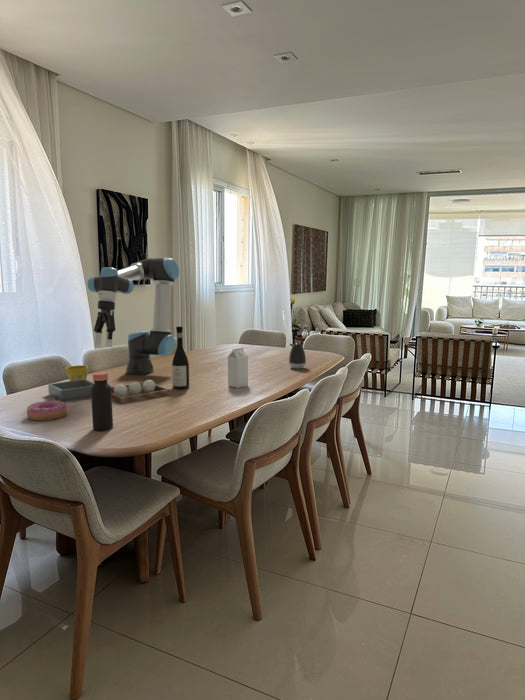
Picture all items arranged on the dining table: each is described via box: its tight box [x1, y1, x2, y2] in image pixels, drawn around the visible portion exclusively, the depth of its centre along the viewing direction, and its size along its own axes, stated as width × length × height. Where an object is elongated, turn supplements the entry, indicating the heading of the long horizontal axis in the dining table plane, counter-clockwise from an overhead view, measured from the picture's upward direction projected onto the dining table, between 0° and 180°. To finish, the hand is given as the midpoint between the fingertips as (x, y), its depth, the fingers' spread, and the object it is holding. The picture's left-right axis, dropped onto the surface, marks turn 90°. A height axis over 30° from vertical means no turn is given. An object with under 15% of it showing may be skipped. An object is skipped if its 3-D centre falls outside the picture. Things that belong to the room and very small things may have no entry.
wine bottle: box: [171, 326, 190, 390], centre depth 230 cm, size 8×8×30 cm
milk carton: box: [227, 347, 249, 389], centre depth 234 cm, size 7×7×19 cm
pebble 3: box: [142, 379, 156, 393], centre depth 222 cm, size 6×6×6 cm
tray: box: [111, 382, 171, 404], centre depth 218 cm, size 24×22×2 cm
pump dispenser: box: [288, 342, 307, 370], centre depth 281 cm, size 10×10×15 cm
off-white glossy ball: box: [114, 383, 129, 397], centre depth 213 cm, size 6×6×6 cm
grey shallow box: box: [47, 379, 94, 403], centre depth 216 cm, size 17×17×5 cm
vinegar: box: [90, 371, 114, 432], centre depth 167 cm, size 7×7×20 cm
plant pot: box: [65, 364, 89, 381], centre depth 234 cm, size 10×10×10 cm
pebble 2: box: [128, 381, 143, 395], centre depth 217 cm, size 6×6×6 cm
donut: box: [26, 400, 68, 422], centre depth 183 cm, size 14×14×5 cm
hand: (102, 346), depth 219 cm, fingers open, 13 cm apart
